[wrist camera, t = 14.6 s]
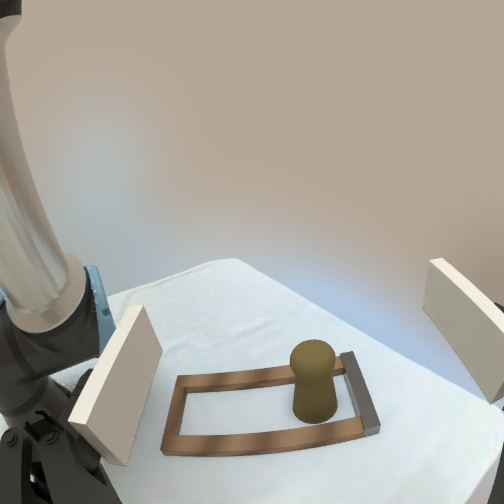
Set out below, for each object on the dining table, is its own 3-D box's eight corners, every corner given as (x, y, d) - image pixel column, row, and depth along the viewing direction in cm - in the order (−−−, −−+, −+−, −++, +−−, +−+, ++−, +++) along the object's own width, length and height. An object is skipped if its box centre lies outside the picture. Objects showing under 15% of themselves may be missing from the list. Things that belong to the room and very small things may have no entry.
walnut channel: (164, 454, 30) (160, 449, 29) (180, 381, 43) (177, 375, 42) (363, 437, 28) (364, 431, 28) (339, 362, 41) (339, 355, 40)
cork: (323, 382, 38) (321, 325, 34) (346, 410, 33) (350, 353, 28) (285, 400, 36) (275, 344, 32) (305, 431, 31) (300, 378, 27)
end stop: (363, 437, 28) (365, 429, 27) (339, 362, 41) (340, 353, 40) (378, 432, 28) (380, 425, 27) (352, 360, 41) (352, 350, 40)
